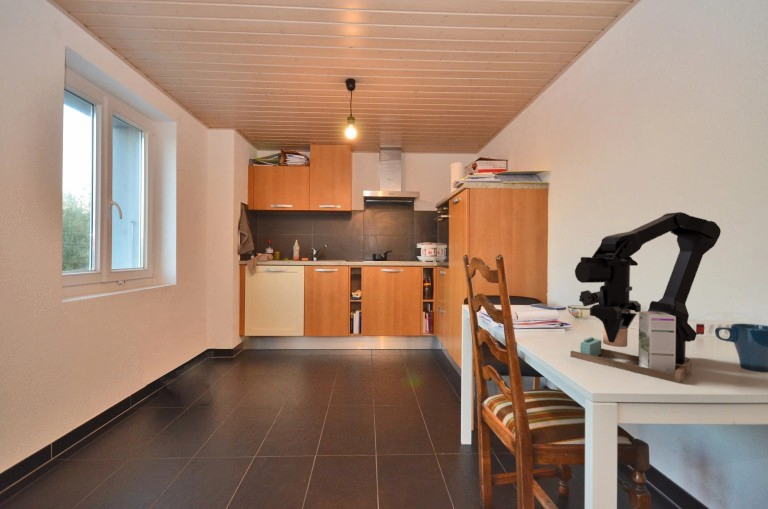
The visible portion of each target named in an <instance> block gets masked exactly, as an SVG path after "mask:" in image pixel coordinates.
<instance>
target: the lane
mask: <svg viewBox="0 0 768 509" xmlns="http://www.w3.org/2000/svg"><path fill="white" fill-rule="evenodd" d="M569 355H570V357H571V358H576V359H579V360H582V361H583V360H584V361H588V362H591V363H594V364H595V363H596V364H599V365H603V366H607V365H608V367H611V366H612V367H613V368H615V367H616V368H615V369H620V370H623V371H624V370H625V371H629V372H631V373H636V374H640V375H646V376H649V377H653V378H658V379H660V380H661V379H662V380H665V381H669V382H673V383H676V384H681V383H682V382H684V381H685V379H687V378H688V377H689V376H690V375H691V374H692V362H688V361H687V362H686V363H685V364H682V365H681V364H679V363H675V374H671V373H667V372H663V371H658V370H654V369H650V368H645V367H641V366H638V365H635V364H632V363H627V362H623V361H618V360H614V359H609V358H606V357H611V358H615V357H616V359H620V360H625V361H628V362H629V361H630V362H633V361H634V363H638V359H639V355H634V354H629V353H627V352H626V353H625V352H620V351H616V350H612V349H611V350H610V349H605V348H602V347H601V354H600V355H601V356H606V357H601V356H593V355H589V354H584V353H580V351H575V350H570V354H569Z"/></svg>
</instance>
